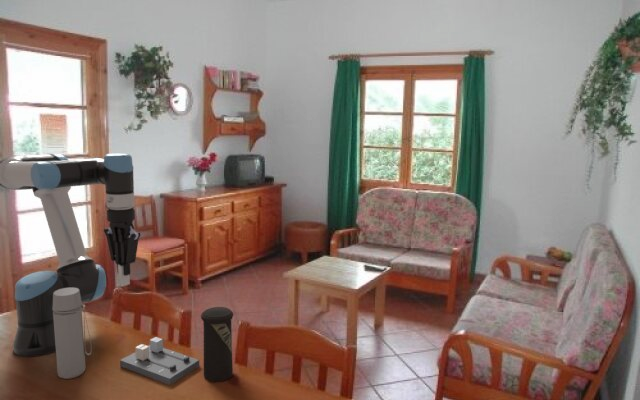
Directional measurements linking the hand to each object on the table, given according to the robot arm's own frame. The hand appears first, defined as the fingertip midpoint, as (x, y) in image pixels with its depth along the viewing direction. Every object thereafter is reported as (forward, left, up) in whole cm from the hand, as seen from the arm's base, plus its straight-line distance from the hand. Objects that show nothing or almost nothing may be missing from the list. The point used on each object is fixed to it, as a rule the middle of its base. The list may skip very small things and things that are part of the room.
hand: (124, 284), depth 142 cm
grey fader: (+6, +6, -22) cm, 23 cm away
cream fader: (+6, 0, -22) cm, 23 cm away
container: (+29, +7, -24) cm, 39 cm away
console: (+11, +2, -24) cm, 27 cm away
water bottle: (-7, -13, -24) cm, 28 cm away
